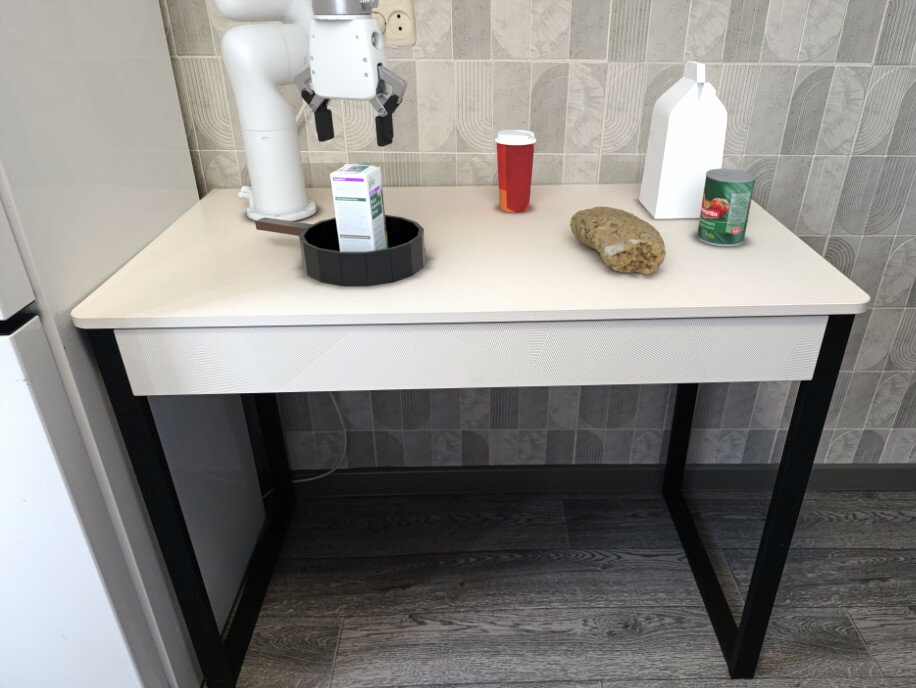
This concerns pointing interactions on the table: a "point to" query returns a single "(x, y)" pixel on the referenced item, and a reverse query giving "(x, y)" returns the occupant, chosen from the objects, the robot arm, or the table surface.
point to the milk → (683, 146)
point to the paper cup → (515, 169)
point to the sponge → (620, 239)
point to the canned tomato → (725, 207)
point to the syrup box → (359, 208)
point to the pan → (355, 266)
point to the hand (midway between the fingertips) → (355, 142)
